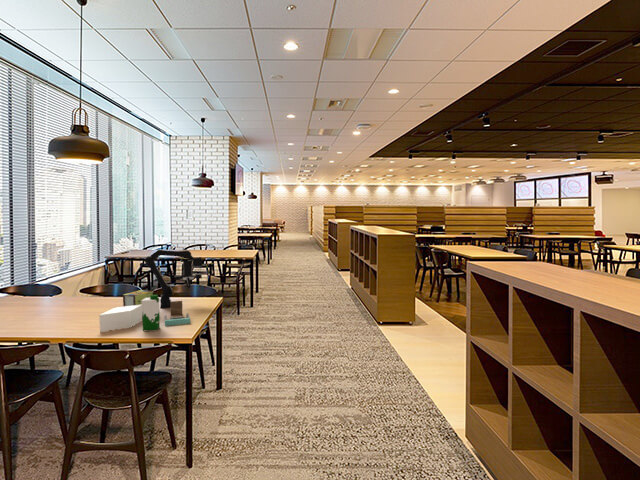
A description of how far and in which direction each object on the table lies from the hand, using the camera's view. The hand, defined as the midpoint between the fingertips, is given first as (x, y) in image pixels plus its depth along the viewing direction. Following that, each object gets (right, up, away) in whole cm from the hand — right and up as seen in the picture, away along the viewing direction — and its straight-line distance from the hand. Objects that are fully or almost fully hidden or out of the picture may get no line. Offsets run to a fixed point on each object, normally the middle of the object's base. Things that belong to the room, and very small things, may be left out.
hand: (188, 288), depth 287 cm
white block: (-23, -17, -50) cm, 58 cm away
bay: (+6, -15, -41) cm, 44 cm away
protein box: (-23, -15, -28) cm, 40 cm away
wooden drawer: (+5, -16, -38) cm, 42 cm away
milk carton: (-3, -17, -57) cm, 59 cm away
